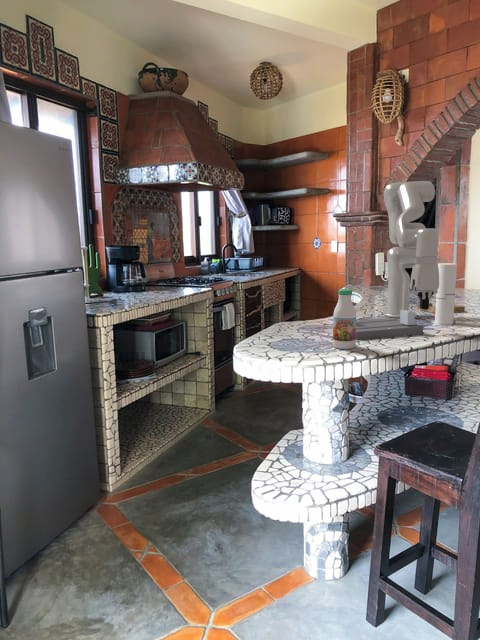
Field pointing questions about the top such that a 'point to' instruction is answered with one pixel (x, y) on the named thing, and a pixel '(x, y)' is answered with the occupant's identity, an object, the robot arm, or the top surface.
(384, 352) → the top surface
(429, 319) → the top surface
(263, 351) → the top surface
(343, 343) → the milk bottle
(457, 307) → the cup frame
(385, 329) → the fader console
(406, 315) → the grey fader
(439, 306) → the cylindrical container
